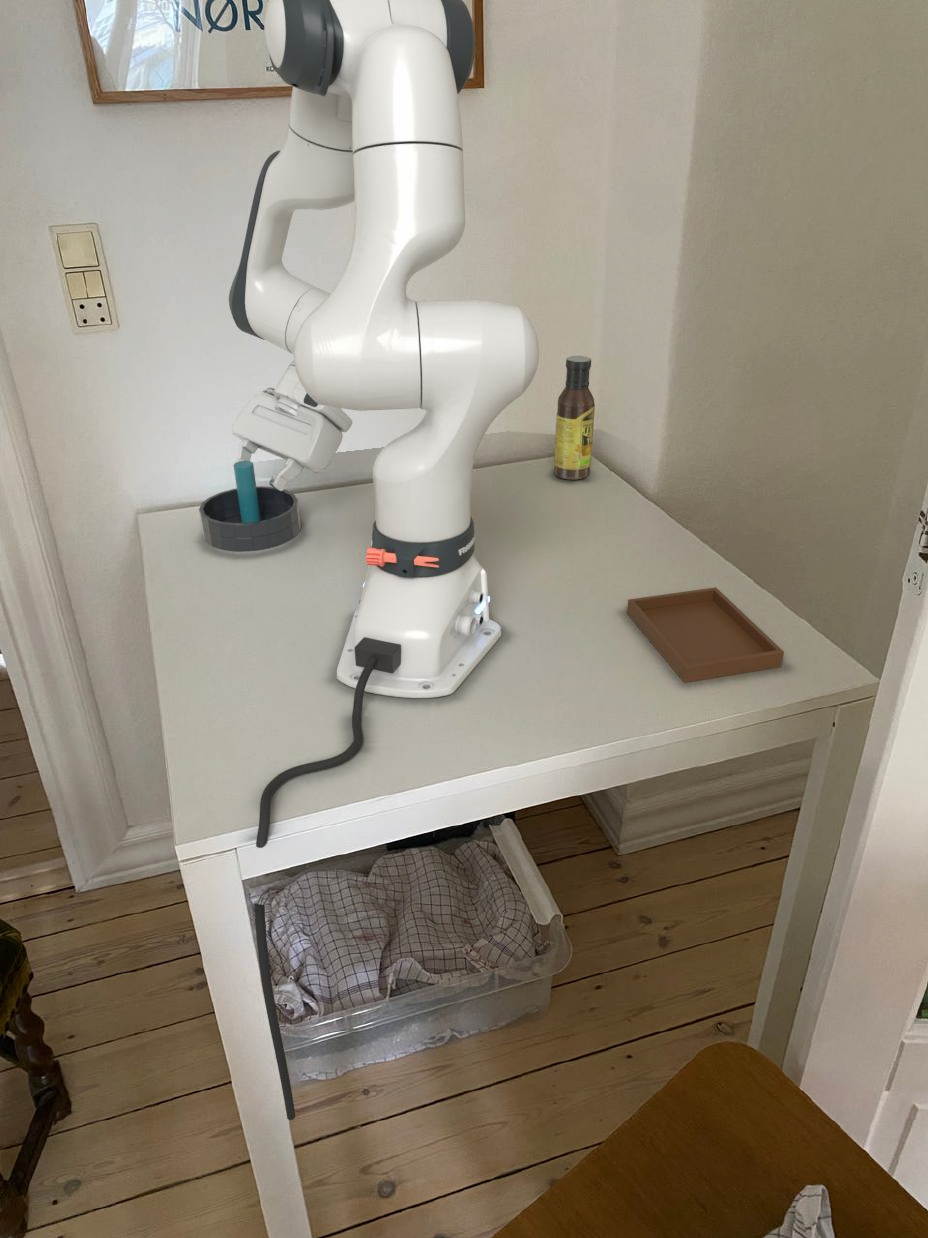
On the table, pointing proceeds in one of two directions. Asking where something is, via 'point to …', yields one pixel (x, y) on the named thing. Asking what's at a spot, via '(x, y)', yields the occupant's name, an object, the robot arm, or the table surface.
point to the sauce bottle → (575, 422)
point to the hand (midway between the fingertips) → (256, 479)
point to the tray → (703, 634)
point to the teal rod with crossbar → (247, 491)
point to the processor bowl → (234, 535)
